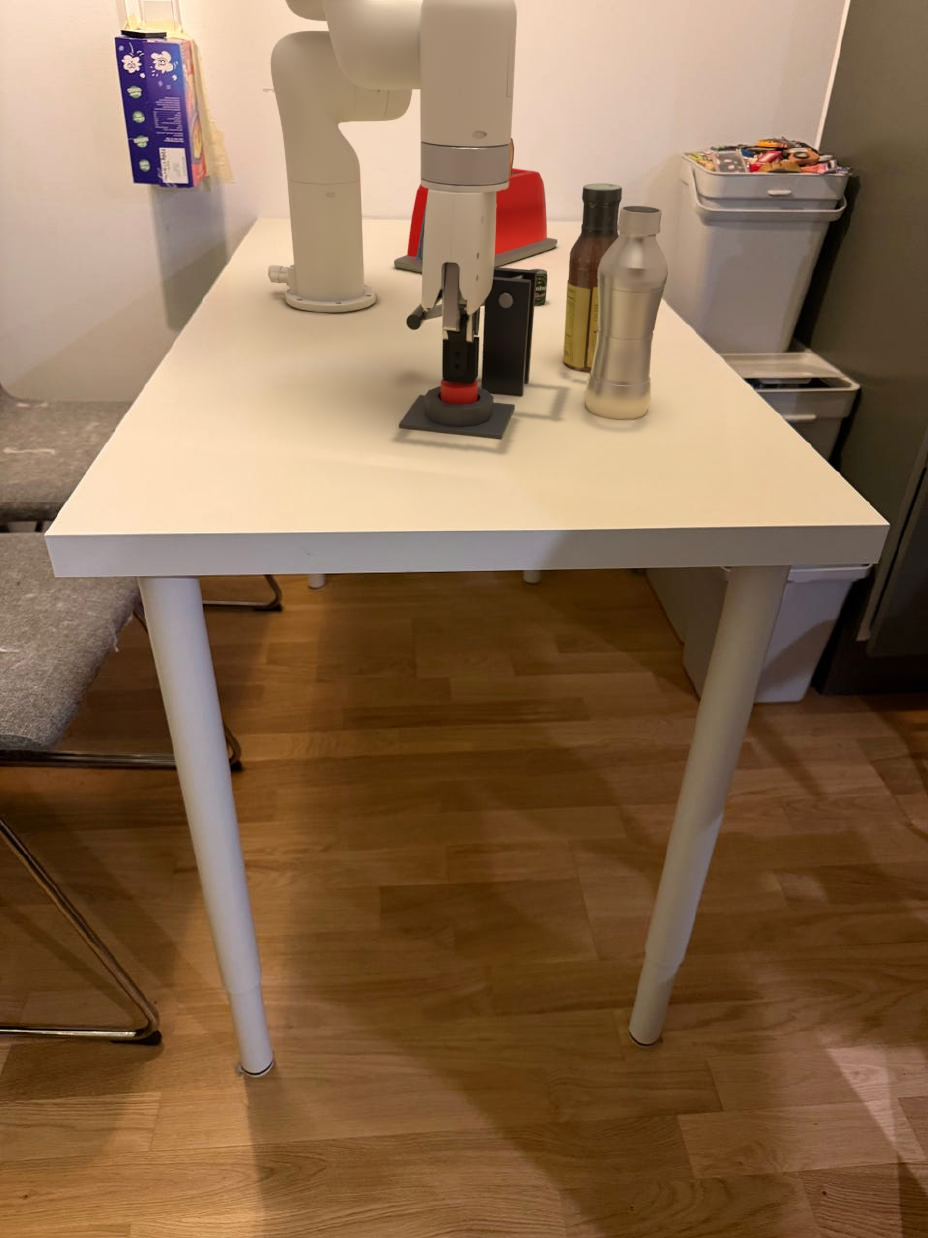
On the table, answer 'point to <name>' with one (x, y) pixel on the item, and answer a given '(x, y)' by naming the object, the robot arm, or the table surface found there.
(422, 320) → the lever
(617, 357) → the plastic bottle
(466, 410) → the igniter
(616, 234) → the sauce bottle
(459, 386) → the button
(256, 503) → the table surface
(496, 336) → the bracket
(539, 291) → the beer can
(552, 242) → the toaster
